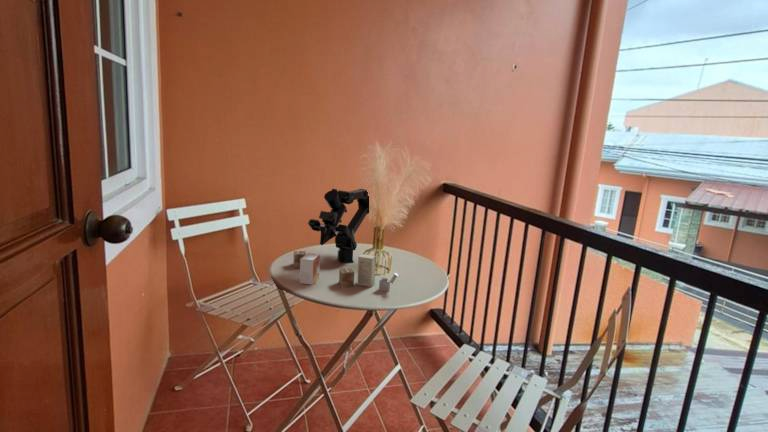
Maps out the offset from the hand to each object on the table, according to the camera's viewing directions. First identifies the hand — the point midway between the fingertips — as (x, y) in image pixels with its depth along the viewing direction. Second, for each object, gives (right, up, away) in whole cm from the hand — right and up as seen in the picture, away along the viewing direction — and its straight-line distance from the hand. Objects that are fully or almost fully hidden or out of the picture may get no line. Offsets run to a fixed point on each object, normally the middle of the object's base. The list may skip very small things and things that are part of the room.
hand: (321, 244), depth 166 cm
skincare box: (+19, -16, -3) cm, 25 cm away
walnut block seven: (-12, -10, +12) cm, 20 cm away
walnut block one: (+11, -16, -5) cm, 20 cm away
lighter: (+28, -18, -8) cm, 34 cm away
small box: (-4, -15, -4) cm, 16 cm away
